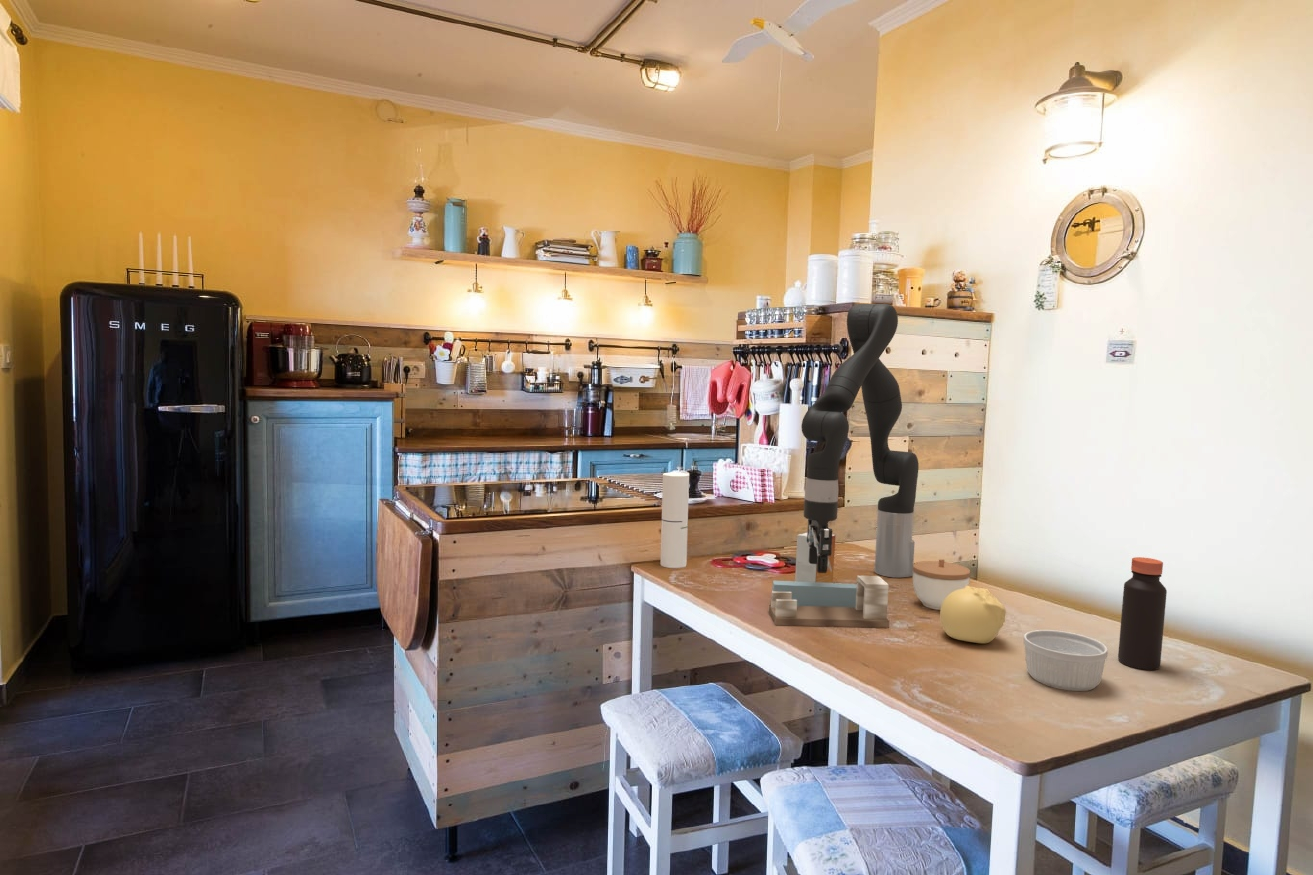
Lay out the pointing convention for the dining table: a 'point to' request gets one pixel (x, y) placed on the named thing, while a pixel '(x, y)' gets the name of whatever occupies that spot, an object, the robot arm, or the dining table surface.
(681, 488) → the cylindrical container
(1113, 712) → the dining table surface
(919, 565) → the lidded bowl
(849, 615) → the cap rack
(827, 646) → the dining table surface
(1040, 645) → the ramekin
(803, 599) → the slat
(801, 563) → the small box
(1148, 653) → the bottle
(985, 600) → the yellow clay lump
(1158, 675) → the dining table surface
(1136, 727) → the dining table surface
